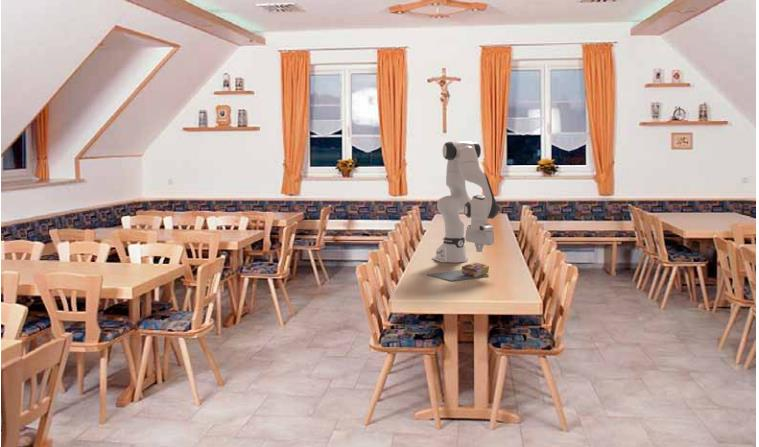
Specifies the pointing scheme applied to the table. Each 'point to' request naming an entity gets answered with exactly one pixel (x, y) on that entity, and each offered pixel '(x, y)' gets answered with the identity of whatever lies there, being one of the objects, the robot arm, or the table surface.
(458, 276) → the mat
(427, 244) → the table surface
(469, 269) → the candy box
